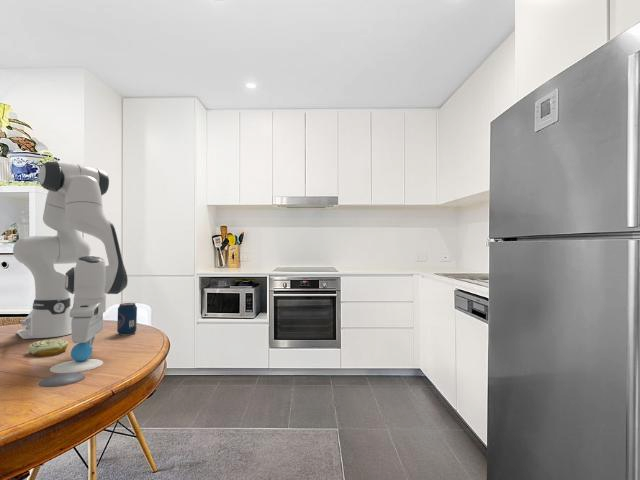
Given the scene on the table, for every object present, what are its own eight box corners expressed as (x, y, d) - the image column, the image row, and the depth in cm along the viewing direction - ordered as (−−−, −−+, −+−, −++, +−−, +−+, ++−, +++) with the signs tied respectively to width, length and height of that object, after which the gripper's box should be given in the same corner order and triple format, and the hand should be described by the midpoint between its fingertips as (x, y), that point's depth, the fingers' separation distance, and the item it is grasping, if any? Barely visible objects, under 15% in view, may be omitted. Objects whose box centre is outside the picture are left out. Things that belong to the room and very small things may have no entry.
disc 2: (41, 367, 107) (41, 367, 107) (89, 357, 118) (89, 356, 118) (62, 376, 100) (62, 375, 100) (111, 364, 111) (111, 363, 111)
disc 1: (31, 381, 96) (31, 380, 96) (74, 371, 104) (74, 370, 104) (49, 389, 90) (49, 388, 90) (92, 378, 99) (92, 377, 99)
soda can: (113, 333, 151) (114, 304, 151) (130, 330, 156) (131, 302, 157) (123, 336, 147) (123, 305, 147) (139, 333, 153) (140, 303, 153)
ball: (67, 345, 114) (66, 363, 111) (78, 339, 112) (77, 358, 109) (85, 346, 118) (84, 363, 116) (96, 340, 116) (95, 358, 114)
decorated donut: (26, 359, 116) (27, 347, 116) (29, 351, 125) (29, 340, 125) (67, 354, 122) (67, 342, 122) (67, 347, 130) (67, 336, 131)
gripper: (88, 303, 129) (87, 343, 128) (67, 312, 109) (66, 360, 109) (108, 302, 131) (107, 342, 130) (91, 311, 111) (90, 358, 111)
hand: (88, 350), depth 119 cm, fingers closed
